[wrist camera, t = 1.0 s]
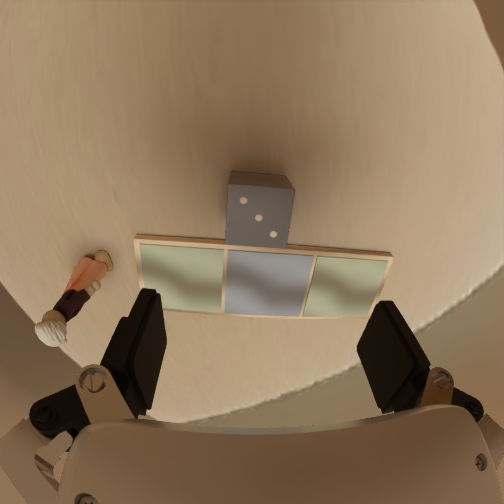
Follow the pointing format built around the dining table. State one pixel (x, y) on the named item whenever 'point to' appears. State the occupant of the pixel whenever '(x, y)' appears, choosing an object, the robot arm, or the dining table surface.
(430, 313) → the dining table surface
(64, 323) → the grandmother figurine
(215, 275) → the board
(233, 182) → the die
